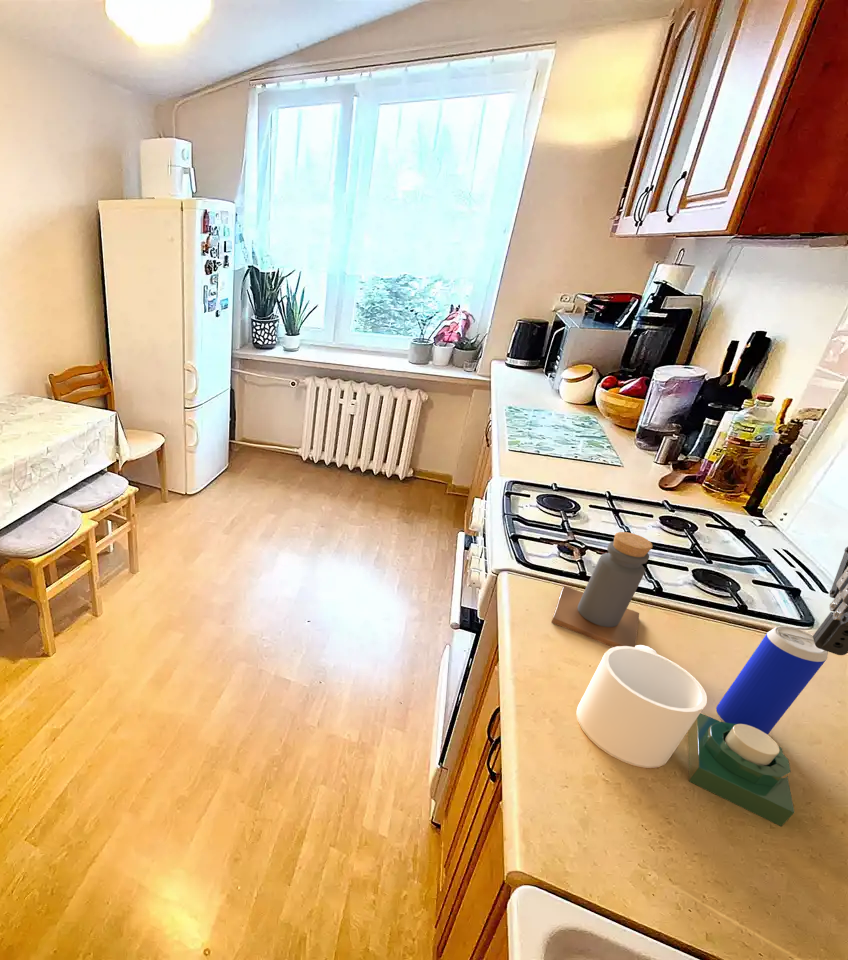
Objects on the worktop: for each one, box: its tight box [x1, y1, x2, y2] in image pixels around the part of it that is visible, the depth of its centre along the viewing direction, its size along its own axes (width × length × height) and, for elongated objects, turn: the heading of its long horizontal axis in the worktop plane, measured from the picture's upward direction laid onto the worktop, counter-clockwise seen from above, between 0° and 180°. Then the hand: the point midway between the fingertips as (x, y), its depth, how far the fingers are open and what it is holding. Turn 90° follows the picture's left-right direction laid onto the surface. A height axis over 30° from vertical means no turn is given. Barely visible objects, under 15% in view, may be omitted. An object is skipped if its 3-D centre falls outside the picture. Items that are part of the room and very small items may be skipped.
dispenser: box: [687, 712, 795, 827], centre depth 62 cm, size 10×8×4 cm
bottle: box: [578, 531, 654, 627], centre depth 83 cm, size 6×6×15 cm
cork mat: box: [551, 585, 640, 648], centre depth 86 cm, size 11×11×1 cm
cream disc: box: [725, 724, 780, 766], centre depth 61 cm, size 4×4×2 cm
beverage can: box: [715, 625, 829, 736], centre depth 66 cm, size 5×5×15 cm
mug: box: [575, 644, 708, 769], centre depth 66 cm, size 13×10×10 cm
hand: (827, 647), depth 54 cm, fingers closed
